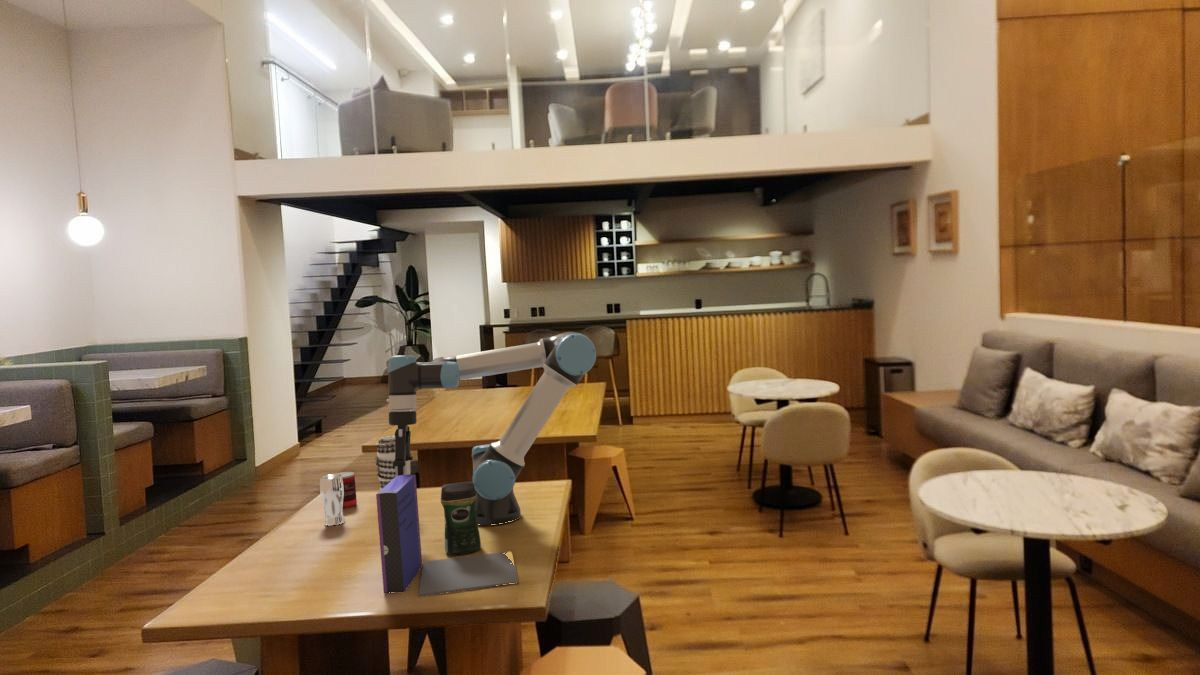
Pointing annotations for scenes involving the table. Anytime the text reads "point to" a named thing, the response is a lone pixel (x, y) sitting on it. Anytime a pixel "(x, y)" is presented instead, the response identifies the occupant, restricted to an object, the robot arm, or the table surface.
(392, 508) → the cereal box
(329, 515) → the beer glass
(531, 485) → the table surface
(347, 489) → the canned food
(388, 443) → the decorative candle
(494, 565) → the flat gray object
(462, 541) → the coffee jar
